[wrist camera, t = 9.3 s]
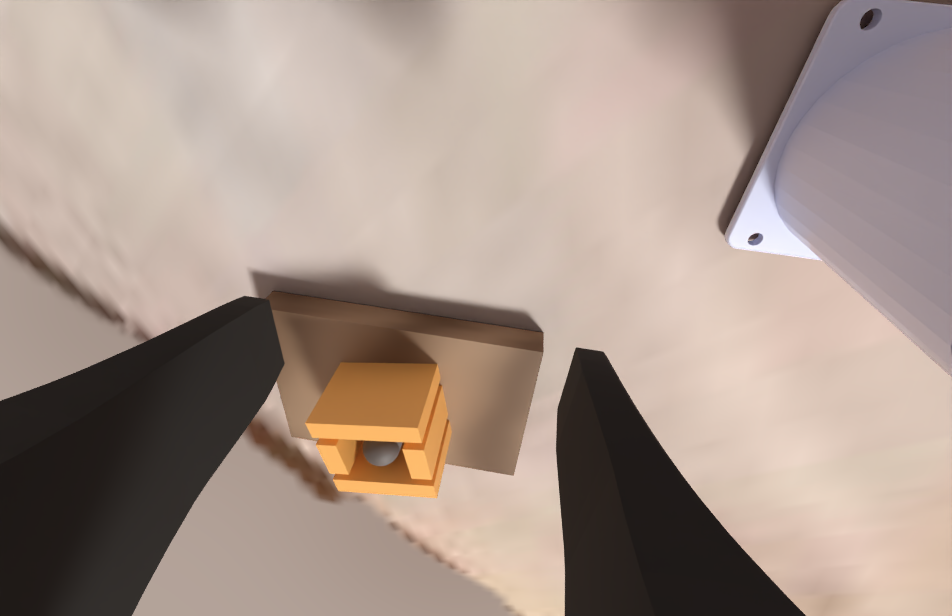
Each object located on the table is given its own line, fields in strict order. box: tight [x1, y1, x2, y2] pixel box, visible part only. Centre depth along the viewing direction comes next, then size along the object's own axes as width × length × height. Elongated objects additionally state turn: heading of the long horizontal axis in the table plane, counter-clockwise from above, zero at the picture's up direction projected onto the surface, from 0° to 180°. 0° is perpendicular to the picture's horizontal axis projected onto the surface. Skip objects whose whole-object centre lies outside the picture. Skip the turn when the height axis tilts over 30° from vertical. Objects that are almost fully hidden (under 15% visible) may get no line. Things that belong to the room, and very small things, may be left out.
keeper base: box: [266, 291, 543, 476], centre depth 22 cm, size 14×10×5 cm
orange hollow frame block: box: [305, 362, 452, 498], centre depth 21 cm, size 5×5×4 cm
